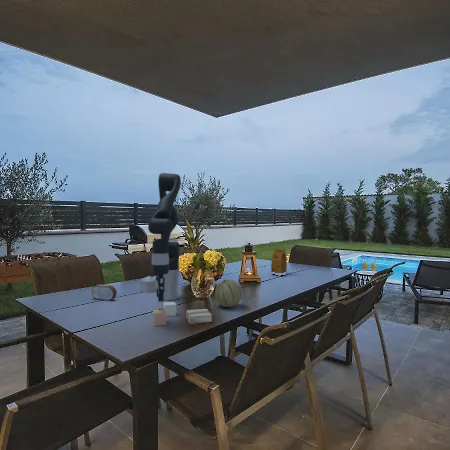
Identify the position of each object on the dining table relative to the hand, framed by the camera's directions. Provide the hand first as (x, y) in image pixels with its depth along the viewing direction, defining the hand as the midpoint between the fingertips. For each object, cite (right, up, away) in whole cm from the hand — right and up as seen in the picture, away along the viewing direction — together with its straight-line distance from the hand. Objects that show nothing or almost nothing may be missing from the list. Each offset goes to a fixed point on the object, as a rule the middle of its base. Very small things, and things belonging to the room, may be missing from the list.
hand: (159, 299), depth 145 cm
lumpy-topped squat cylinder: (-18, -9, +63) cm, 66 cm away
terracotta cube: (0, -11, +1) cm, 11 cm away
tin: (-40, -9, +39) cm, 56 cm away
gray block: (+17, -12, +6) cm, 21 cm away
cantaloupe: (+31, -11, +29) cm, 44 cm away
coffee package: (+74, -9, +122) cm, 143 cm away
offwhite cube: (+2, -11, +14) cm, 18 cm away
